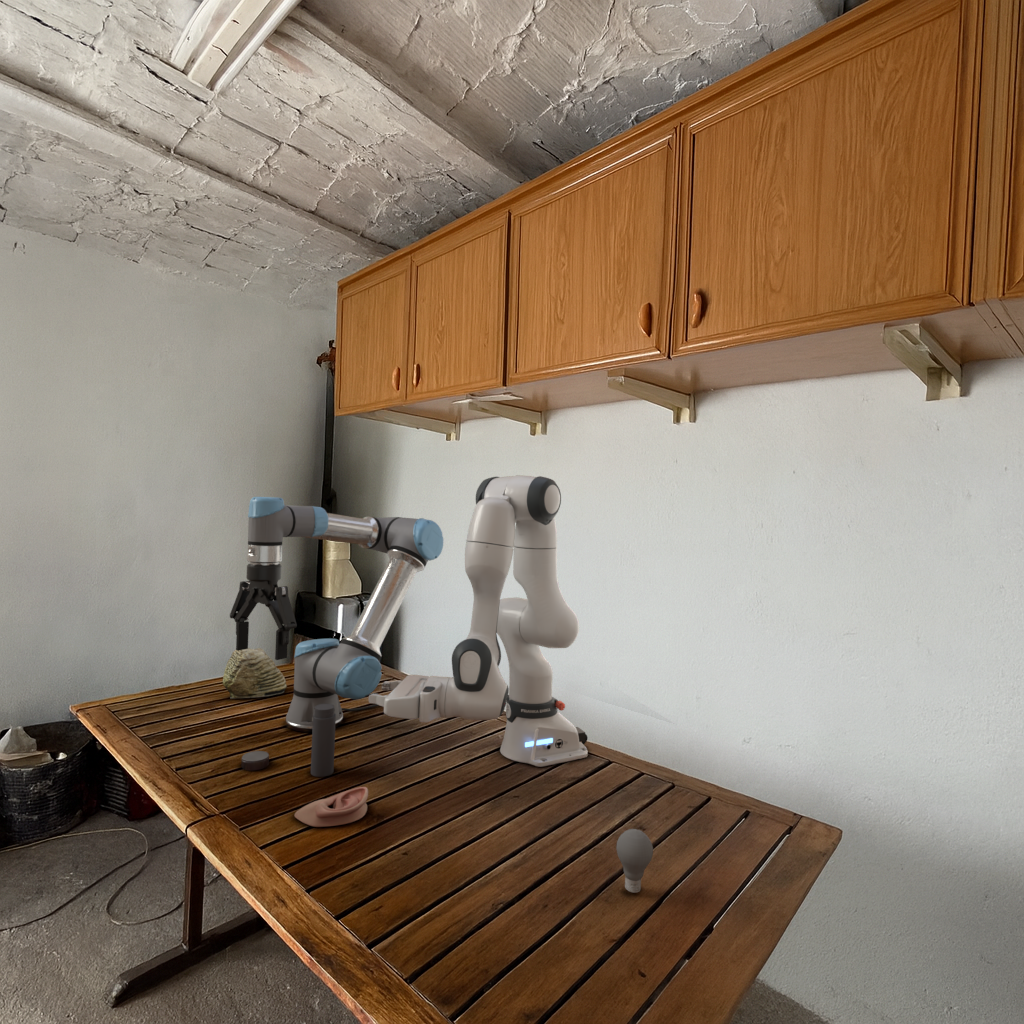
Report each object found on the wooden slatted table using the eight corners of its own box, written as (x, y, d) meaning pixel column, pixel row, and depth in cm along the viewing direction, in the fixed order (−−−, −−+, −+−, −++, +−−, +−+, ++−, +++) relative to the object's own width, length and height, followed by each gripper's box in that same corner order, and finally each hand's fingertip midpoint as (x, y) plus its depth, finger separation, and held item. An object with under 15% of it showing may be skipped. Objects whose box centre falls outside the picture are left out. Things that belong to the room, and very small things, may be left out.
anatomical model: (286, 802, 122) (316, 777, 134) (285, 822, 122) (315, 795, 134) (350, 811, 120) (375, 785, 131) (349, 832, 120) (374, 804, 131)
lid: (250, 773, 143) (250, 763, 143) (236, 765, 147) (236, 755, 147) (273, 765, 148) (274, 755, 148) (260, 758, 152) (260, 748, 152)
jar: (333, 766, 149) (335, 702, 148) (333, 775, 144) (336, 709, 144) (310, 768, 147) (313, 703, 147) (310, 777, 142) (313, 710, 142)
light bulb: (610, 879, 108) (613, 822, 108) (644, 879, 109) (647, 822, 109) (619, 902, 102) (622, 840, 102) (655, 901, 103) (658, 840, 103)
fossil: (218, 695, 195) (220, 647, 195) (278, 685, 208) (279, 640, 207) (228, 703, 189) (230, 653, 188) (289, 692, 201) (290, 645, 201)
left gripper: (215, 559, 150) (212, 648, 150) (288, 569, 138) (284, 666, 138) (243, 557, 157) (240, 643, 157) (315, 566, 144) (311, 659, 145)
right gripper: (445, 670, 153) (390, 666, 154) (426, 695, 133) (362, 690, 134) (444, 696, 153) (389, 691, 154) (424, 725, 133) (360, 720, 134)
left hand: (261, 654), depth 147 cm, fingers open, 13 cm apart
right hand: (376, 691), depth 144 cm, fingers open, 8 cm apart
